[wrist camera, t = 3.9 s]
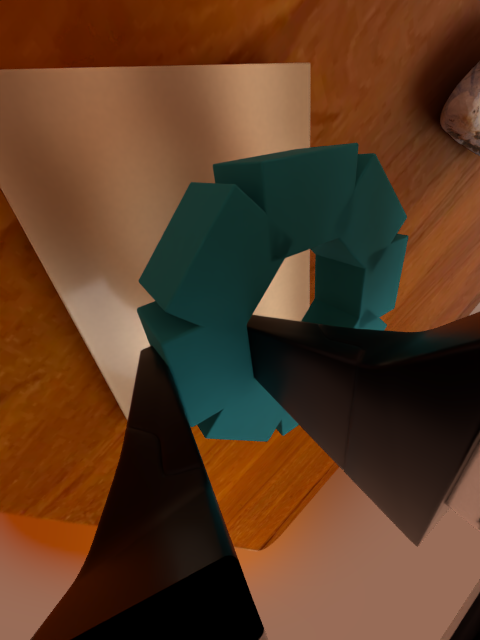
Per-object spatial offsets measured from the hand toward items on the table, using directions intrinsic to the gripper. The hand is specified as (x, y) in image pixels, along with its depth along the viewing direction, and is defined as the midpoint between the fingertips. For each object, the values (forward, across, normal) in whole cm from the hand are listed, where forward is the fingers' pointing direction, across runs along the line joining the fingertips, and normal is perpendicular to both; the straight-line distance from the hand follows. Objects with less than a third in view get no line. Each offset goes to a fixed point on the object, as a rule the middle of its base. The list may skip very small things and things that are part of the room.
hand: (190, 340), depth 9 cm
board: (+8, -4, +1) cm, 9 cm away
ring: (0, -4, 0) cm, 4 cm away
